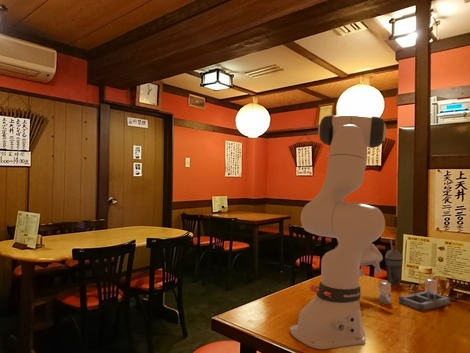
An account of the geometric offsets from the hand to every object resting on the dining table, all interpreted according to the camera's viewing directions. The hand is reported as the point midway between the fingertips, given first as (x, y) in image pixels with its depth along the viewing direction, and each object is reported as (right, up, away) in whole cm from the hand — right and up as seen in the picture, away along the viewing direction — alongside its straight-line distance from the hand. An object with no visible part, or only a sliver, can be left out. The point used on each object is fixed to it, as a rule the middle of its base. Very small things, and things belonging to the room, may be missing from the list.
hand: (371, 274), depth 132 cm
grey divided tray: (+17, -10, -6) cm, 21 cm away
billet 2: (+20, -9, -5) cm, 23 cm away
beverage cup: (+17, -10, +19) cm, 27 cm away
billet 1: (+3, -10, -6) cm, 12 cm away
